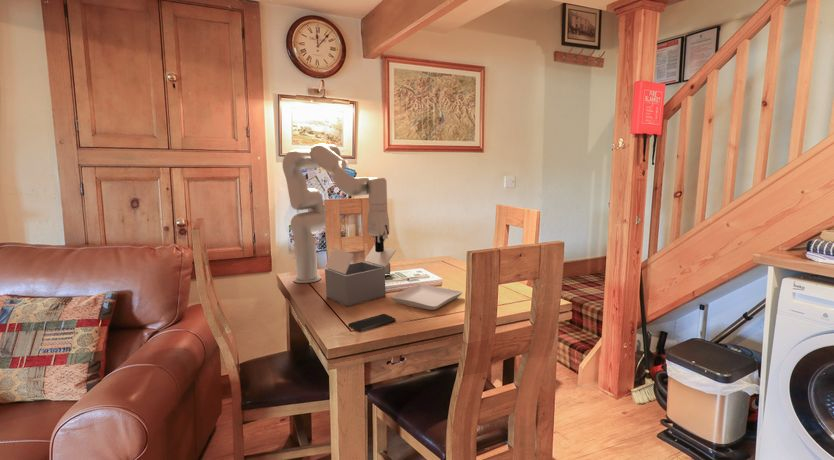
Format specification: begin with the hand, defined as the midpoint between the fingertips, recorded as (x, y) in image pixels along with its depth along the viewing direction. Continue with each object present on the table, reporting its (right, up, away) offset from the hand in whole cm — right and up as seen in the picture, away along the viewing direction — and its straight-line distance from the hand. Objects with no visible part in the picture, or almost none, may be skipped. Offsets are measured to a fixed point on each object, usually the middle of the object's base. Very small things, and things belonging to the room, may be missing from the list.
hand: (379, 251), depth 184 cm
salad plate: (+19, -19, -13) cm, 30 cm away
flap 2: (0, -2, 0) cm, 2 cm away
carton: (-9, -18, -5) cm, 21 cm away
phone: (+1, -23, -35) cm, 42 cm away
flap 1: (-15, -3, -12) cm, 19 cm away
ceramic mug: (-2, -13, +27) cm, 30 cm away
